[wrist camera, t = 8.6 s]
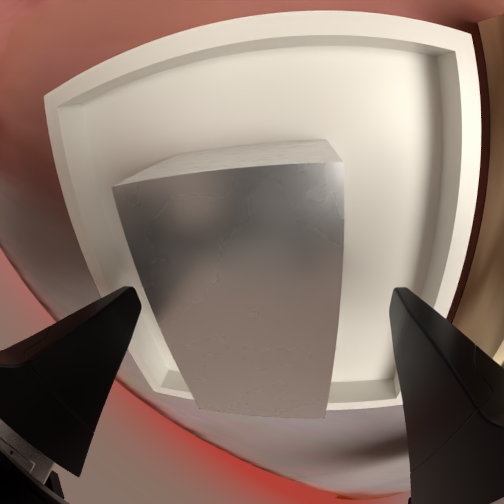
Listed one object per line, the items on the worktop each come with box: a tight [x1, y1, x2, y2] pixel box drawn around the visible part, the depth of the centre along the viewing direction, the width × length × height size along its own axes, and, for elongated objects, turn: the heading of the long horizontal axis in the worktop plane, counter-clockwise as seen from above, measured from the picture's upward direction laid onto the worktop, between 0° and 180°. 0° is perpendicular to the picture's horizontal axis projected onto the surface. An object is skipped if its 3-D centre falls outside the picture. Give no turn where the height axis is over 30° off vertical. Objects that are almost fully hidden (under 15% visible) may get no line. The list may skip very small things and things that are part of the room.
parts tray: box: [44, 11, 481, 410], centre depth 10 cm, size 17×15×2 cm
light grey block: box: [111, 139, 344, 418], centre depth 9 cm, size 9×5×4 cm, turn 7°
